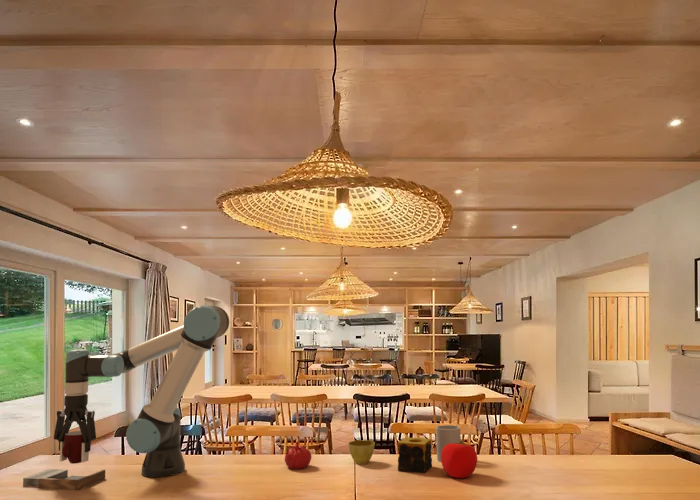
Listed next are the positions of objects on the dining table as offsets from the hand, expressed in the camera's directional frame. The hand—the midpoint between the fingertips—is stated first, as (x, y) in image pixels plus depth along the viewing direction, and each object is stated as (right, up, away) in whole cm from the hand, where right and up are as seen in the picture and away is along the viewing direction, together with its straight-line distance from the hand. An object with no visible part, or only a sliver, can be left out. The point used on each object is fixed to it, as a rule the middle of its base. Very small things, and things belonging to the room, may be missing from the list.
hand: (74, 460), depth 206 cm
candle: (+119, -6, +7) cm, 120 cm away
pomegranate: (+77, -7, +13) cm, 78 cm away
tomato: (+133, -4, -4) cm, 133 cm away
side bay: (-3, -7, -1) cm, 8 cm away
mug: (0, -1, 0) cm, 1 cm away
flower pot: (+100, -7, +18) cm, 102 cm away
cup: (+134, -7, +19) cm, 135 cm away
